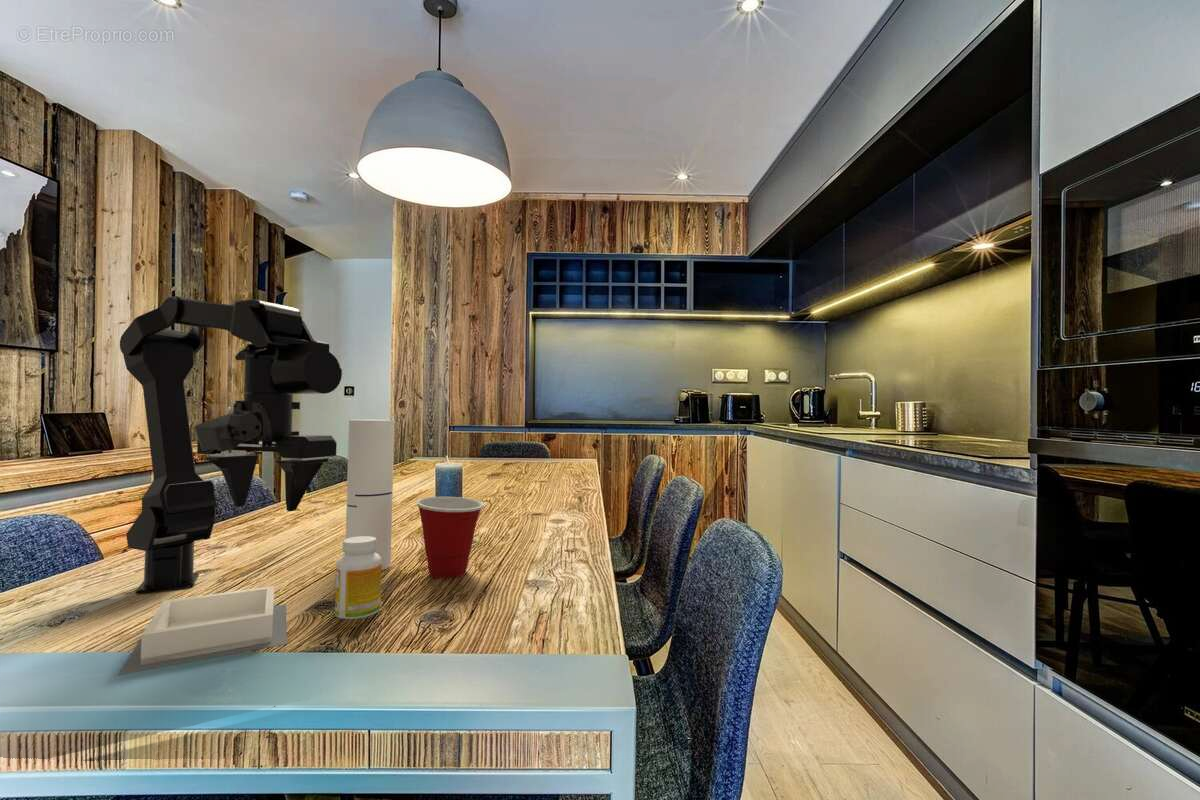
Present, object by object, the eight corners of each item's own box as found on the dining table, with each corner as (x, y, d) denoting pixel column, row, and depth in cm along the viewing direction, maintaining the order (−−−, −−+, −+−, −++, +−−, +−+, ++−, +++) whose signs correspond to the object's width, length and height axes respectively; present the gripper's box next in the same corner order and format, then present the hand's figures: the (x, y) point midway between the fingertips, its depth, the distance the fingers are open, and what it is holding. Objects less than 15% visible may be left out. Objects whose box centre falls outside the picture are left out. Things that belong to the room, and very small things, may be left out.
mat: (149, 628, 63) (149, 624, 63) (286, 608, 70) (286, 604, 70) (117, 679, 51) (118, 674, 51) (286, 648, 58) (286, 643, 58)
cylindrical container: (379, 574, 85) (383, 420, 86) (336, 573, 85) (340, 419, 86) (397, 561, 92) (400, 420, 93) (357, 561, 93) (361, 419, 93)
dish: (162, 626, 62) (163, 600, 62) (273, 609, 68) (274, 586, 68) (140, 665, 53) (141, 634, 53) (271, 641, 58) (272, 614, 59)
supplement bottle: (389, 610, 70) (391, 536, 70) (358, 625, 65) (360, 545, 65) (357, 604, 71) (359, 533, 72) (324, 619, 66) (327, 541, 67)
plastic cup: (464, 586, 80) (466, 507, 80) (400, 581, 82) (402, 503, 82) (493, 566, 90) (494, 496, 91) (435, 562, 92) (437, 494, 93)
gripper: (156, 391, 67) (151, 514, 66) (267, 391, 61) (263, 525, 61) (239, 395, 78) (235, 501, 77) (341, 395, 72) (337, 509, 71)
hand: (265, 508), depth 71 cm, fingers open, 9 cm apart
